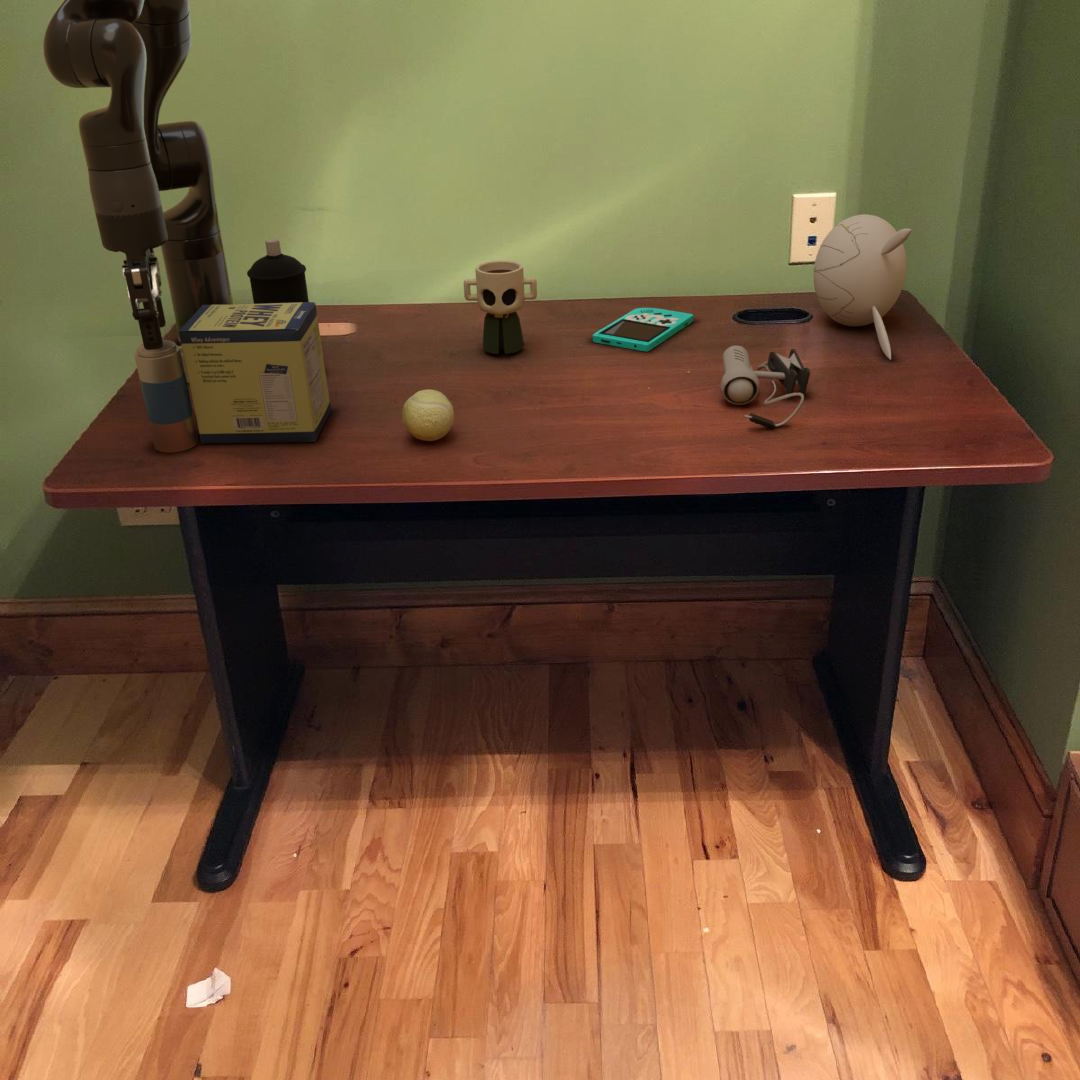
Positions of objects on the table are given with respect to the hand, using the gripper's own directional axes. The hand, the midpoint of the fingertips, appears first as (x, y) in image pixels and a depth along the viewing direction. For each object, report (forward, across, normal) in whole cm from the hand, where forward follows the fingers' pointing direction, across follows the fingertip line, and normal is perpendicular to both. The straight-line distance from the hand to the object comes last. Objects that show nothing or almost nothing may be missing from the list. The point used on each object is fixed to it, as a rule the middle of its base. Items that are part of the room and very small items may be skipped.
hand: (155, 337), depth 142 cm
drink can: (+14, 0, 0) cm, 15 cm away
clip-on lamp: (+15, -12, -77) cm, 79 cm away
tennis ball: (+15, -9, -32) cm, 36 cm away
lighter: (+15, +23, 0) cm, 27 cm away
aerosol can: (+15, +20, -16) cm, 29 cm away
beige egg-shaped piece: (+15, +10, -102) cm, 104 cm away
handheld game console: (+15, +21, -71) cm, 75 cm away
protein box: (+15, +2, -12) cm, 19 cm away
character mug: (+15, +20, -48) cm, 54 cm away
